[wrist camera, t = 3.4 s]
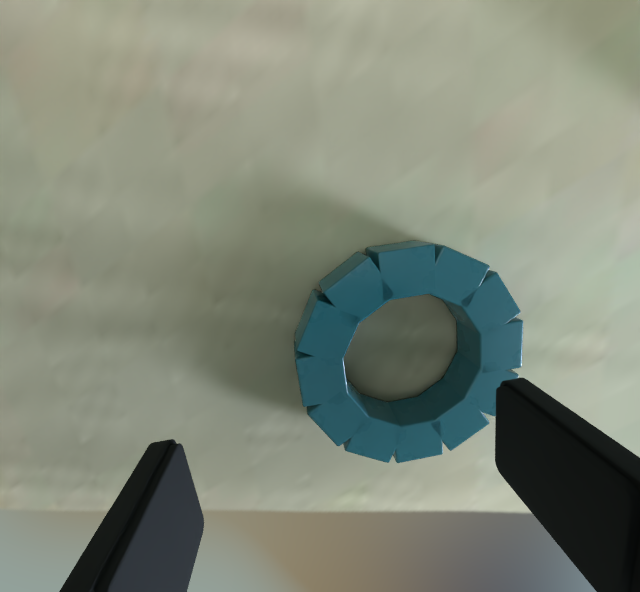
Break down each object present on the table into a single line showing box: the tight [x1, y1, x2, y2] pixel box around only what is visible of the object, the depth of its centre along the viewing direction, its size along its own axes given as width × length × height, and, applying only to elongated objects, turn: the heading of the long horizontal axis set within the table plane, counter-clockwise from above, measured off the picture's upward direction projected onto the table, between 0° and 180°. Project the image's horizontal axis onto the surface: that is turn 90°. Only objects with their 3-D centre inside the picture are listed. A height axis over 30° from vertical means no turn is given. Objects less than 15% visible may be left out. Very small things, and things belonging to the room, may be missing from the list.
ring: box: [294, 241, 523, 463], centre depth 15 cm, size 10×10×2 cm
